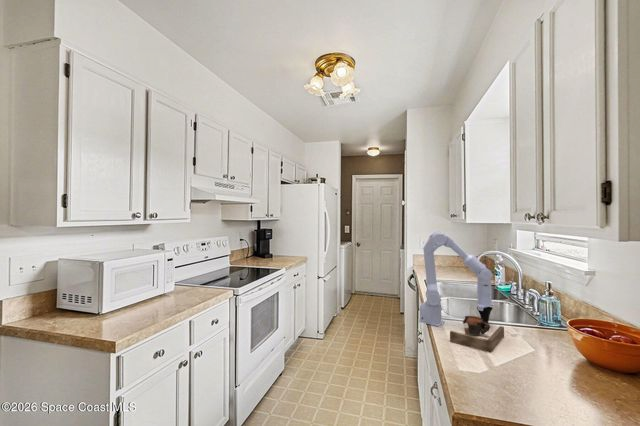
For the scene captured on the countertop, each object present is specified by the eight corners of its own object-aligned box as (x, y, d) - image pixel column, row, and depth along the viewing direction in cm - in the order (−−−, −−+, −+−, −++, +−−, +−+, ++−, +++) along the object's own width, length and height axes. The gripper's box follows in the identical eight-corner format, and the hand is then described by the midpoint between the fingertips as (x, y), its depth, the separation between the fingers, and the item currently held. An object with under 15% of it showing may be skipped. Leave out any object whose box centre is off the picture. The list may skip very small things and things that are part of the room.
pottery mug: (457, 333, 131) (458, 314, 135) (471, 339, 135) (471, 320, 138) (484, 334, 121) (484, 314, 125) (497, 341, 125) (497, 321, 129)
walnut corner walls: (450, 341, 121) (449, 331, 121) (466, 327, 136) (466, 319, 136) (491, 352, 111) (490, 341, 111) (504, 336, 126) (503, 326, 126)
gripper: (489, 298, 129) (490, 329, 129) (498, 291, 140) (498, 320, 139) (472, 295, 134) (473, 325, 134) (481, 289, 144) (482, 317, 144)
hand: (485, 322), depth 137 cm, fingers closed
